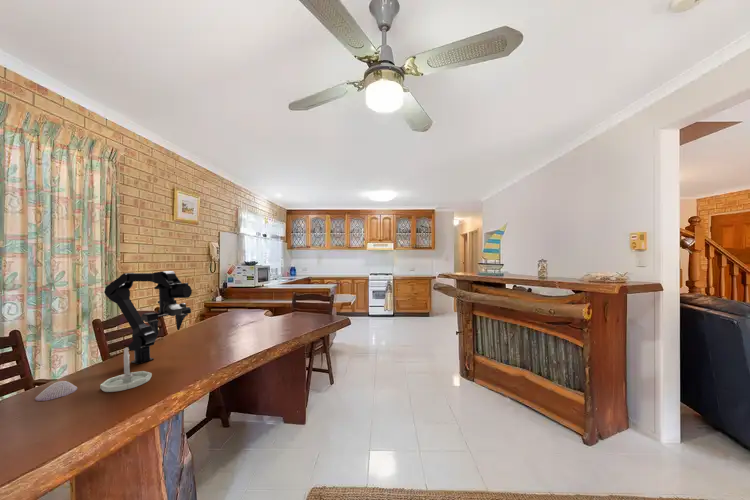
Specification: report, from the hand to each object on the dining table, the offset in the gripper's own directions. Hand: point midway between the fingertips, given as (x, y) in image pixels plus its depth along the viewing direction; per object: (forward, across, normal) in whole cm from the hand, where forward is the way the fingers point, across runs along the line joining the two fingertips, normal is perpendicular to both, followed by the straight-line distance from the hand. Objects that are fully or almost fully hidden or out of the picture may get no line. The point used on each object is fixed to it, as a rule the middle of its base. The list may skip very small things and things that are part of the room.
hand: (167, 332), depth 139 cm
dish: (+13, -21, -11) cm, 27 cm away
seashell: (+14, -36, +3) cm, 39 cm away
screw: (+13, -21, -11) cm, 27 cm away
